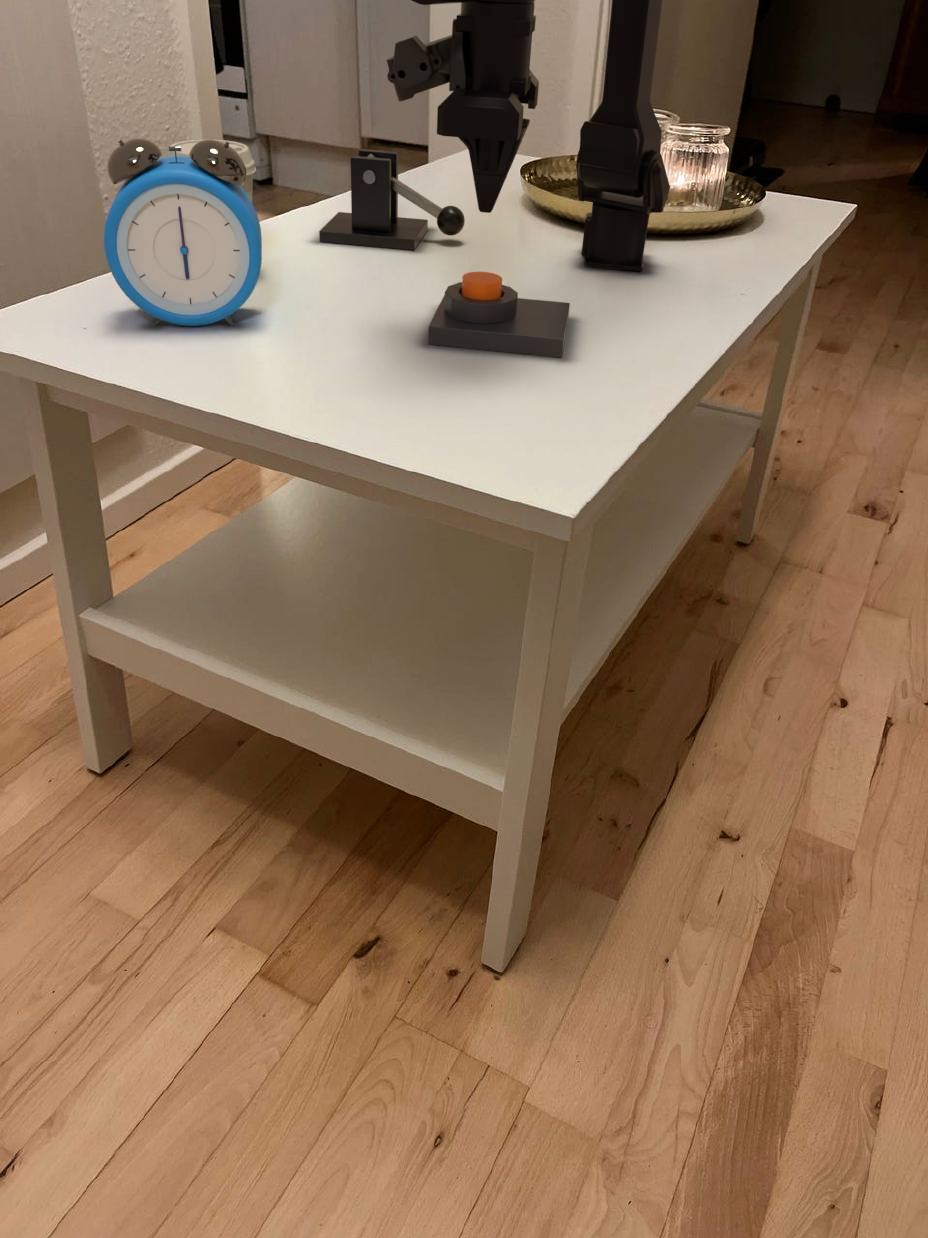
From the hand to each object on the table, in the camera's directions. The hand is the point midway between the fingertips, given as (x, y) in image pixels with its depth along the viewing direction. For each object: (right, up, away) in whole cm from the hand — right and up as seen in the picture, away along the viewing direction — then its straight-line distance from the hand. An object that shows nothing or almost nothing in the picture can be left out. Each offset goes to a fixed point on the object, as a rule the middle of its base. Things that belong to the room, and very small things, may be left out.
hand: (485, 211), depth 86 cm
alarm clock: (-27, -8, +5) cm, 28 cm away
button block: (+1, -9, +6) cm, 11 cm away
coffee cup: (-27, 0, +16) cm, 31 cm away
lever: (-8, +12, +28) cm, 31 cm away
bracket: (-12, +10, +30) cm, 34 cm away
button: (0, -6, +4) cm, 7 cm away
